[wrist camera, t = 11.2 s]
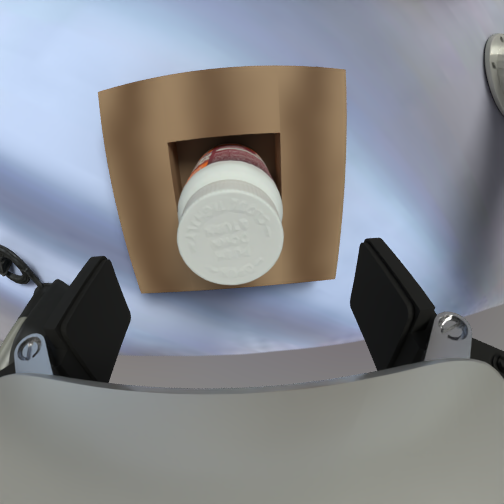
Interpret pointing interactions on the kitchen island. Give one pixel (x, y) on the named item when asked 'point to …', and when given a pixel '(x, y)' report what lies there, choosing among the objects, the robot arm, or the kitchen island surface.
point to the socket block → (224, 132)
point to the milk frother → (28, 305)
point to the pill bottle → (230, 217)
